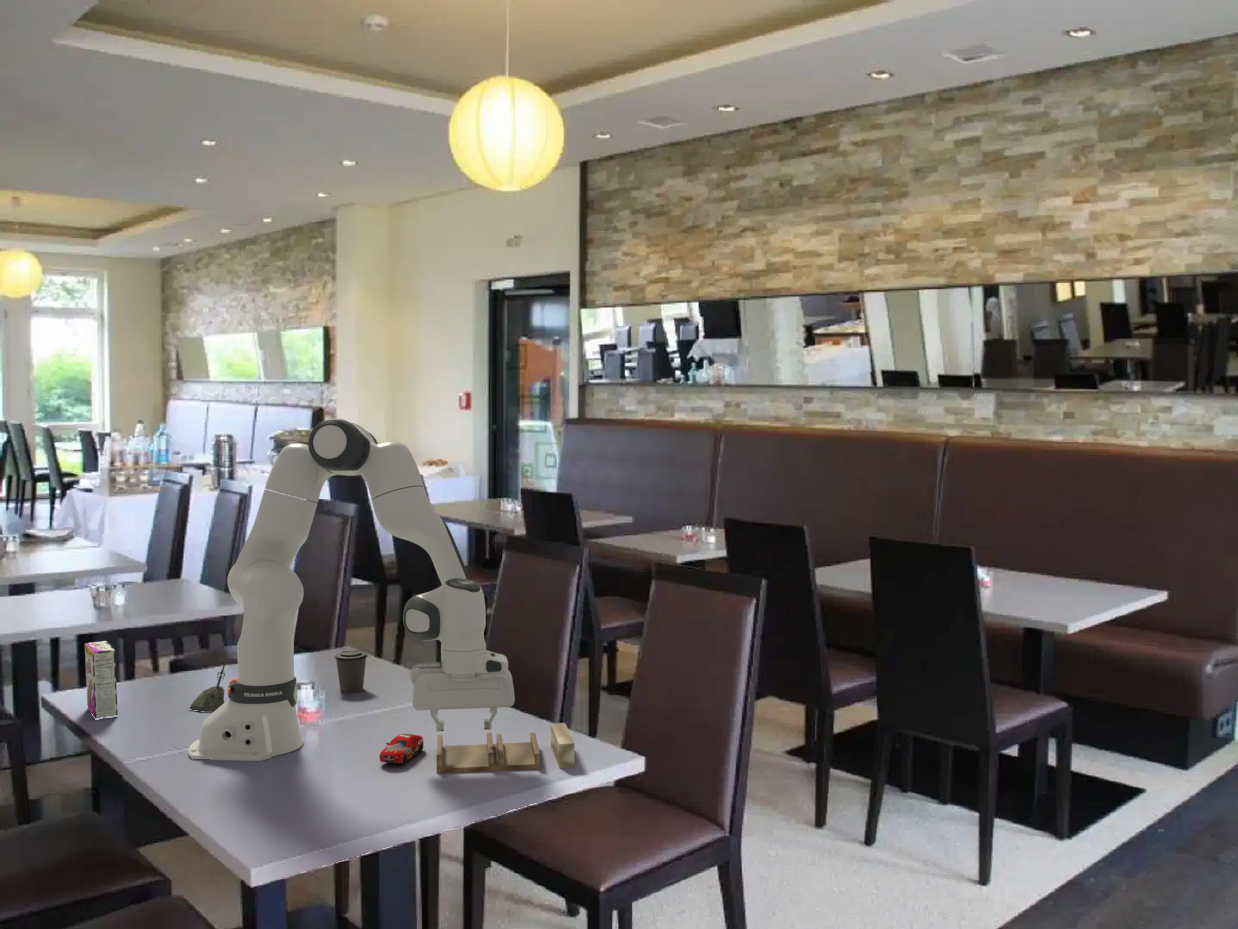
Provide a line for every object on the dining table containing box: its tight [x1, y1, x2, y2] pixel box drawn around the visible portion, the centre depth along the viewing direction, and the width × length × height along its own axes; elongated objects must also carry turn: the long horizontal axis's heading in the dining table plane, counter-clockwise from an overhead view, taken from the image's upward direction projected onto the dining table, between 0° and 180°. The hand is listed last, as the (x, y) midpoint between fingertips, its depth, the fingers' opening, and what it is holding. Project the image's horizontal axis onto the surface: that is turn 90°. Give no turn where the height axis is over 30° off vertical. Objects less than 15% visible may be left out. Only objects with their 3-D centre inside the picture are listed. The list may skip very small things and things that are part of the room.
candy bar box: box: [84, 640, 118, 718], centre depth 253 cm, size 11×5×16 cm, turn 34°
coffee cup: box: [334, 650, 369, 694], centre depth 275 cm, size 8×8×10 cm
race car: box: [379, 733, 424, 765], centre depth 224 cm, size 13×5×4 cm, turn 166°
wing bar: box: [550, 722, 575, 769], centre depth 225 cm, size 3×14×5 cm, turn 10°
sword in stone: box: [189, 657, 228, 711], centre depth 259 cm, size 10×8×12 cm
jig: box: [435, 732, 541, 774], centre depth 223 cm, size 20×14×4 cm
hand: (464, 729), depth 222 cm, fingers open, 8 cm apart
